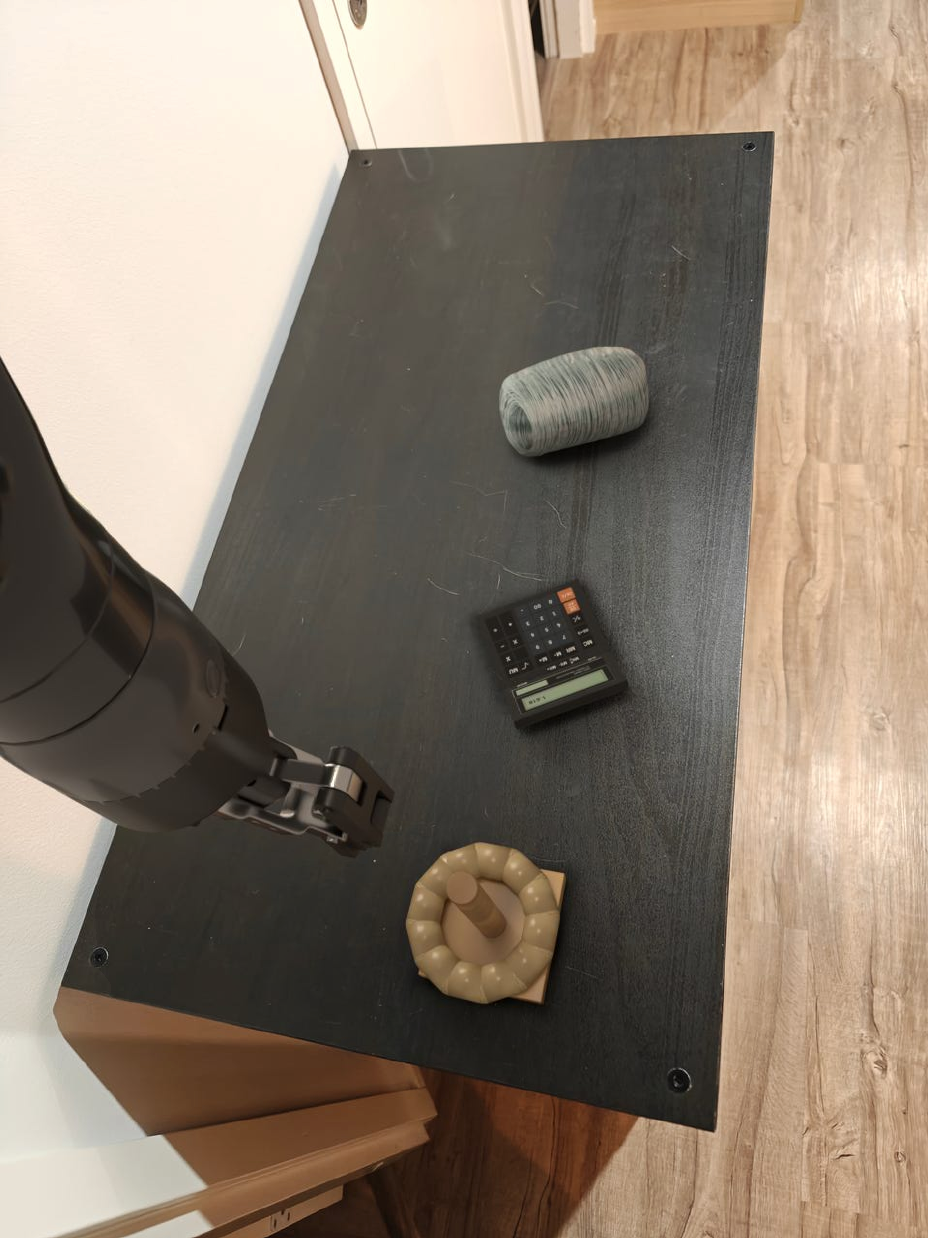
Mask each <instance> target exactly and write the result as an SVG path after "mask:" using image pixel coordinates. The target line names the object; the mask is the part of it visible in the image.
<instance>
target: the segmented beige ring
mask: <svg viewBox="0 0 928 1238" xmlns="http://www.w3.org/2000/svg"><path fill="white" fill-rule="evenodd" d="M540 869H541V868H539V867H538V866H537V865H536V864H534V862H532V861H531V860H530V859H529V858H528V857H527V856H525V855H524V854H523V853H522V852H521V851H520V850H519V849H517V848H513V847H508V846H503V845H497V844H492V843H488V842H481V841H479V842H474V843H471V844H469V845H465V846H462V847H459V848H455V849H454V850H451V851H450V852H448V853H447V852H445V853H443V854H441V855H440V856H439V857H438V858H437V859H436V860H435V862H434V863H432V865H431V866H430V867H429V868H428V869H427V870H426V871H425V872H424V873H423V875H422V876H421V877H420V878H419V879H418V881H417V882H416V883H415V885H414V888H413V891H412V896H411V900H410V903H409V907H408V912H407V915H406V918H405V929H406V933H407V937H408V941H409V945H410V948H411V949H410V950H411V953H412V957H413V961H414V963H415V966H416V967H417V968H418V970H419V969H420V970H421V971H422V972H423V973H424V974H425V975H426V976H427V977H428V978H429V979H428V978H427V979H428V980H429V981H430V982H431V983H432V984H433V985H434V986H435V987H436V988H437V989H438V990H439V991H440V992H441V993H442V994H444V995H446V996H448V997H453V998H456V999H460V1000H465V1001H469V1002H472V1003H477V1004H482V1005H487V1004H491V1003H494V1002H496V1001H500V1000H503V999H505V998H510V997H509V996H512V995H515V994H518V993H521V992H523V991H524V990H526V989H527V988H528V987H529V986H530V984H531V983H532V982H533V981H534V980H535V978H536V977H537V976H538V975H539V974H540V973H541V971H542V970H543V969H544V968H545V967H546V965H547V964H548V963H549V962H550V960H551V959H552V960H553V956H554V953H555V947H556V942H557V937H558V931H559V927H560V921H561V912H560V913H559V910H558V907H557V904H556V901H555V898H554V895H553V892H552V889H551V886H550V883H549V880H548V878H547V876H546V875H545V874H544V873H543V872H542V871H541V870H540ZM457 872H468V873H470V874H472V875H473V876H474V877H475V878H479V877H486V878H491V879H496V880H501V881H503V882H504V883H505V884H506V885H507V886H509V887H510V888H511V889H512V890H513V891H514V892H515V893H516V894H517V895H518V896H519V899H520V902H521V905H522V908H523V912H524V915H525V921H524V926H523V931H522V936H521V941H520V942H519V943H518V944H517V945H516V946H515V948H514V949H513V950H512V951H511V952H510V953H509V955H508V956H507V957H506V958H505V959H502V960H499V961H496V962H493V963H491V964H488V965H485V966H481V965H477V964H472V963H468V962H464V961H461V960H460V959H459V958H458V957H457V956H456V955H455V954H454V953H453V952H452V951H451V950H450V949H449V948H448V947H447V946H446V945H445V941H444V937H443V934H442V930H441V926H440V920H441V916H442V912H443V907H444V903H445V900H446V899H447V898H448V896H447V893H446V885H447V882H448V880H449V878H450V877H451V876H452V875H453V874H455V873H457Z"/></svg>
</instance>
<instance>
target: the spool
mask: <svg viewBox="0 0 928 1238" xmlns="http://www.w3.org/2000/svg"><path fill="white" fill-rule="evenodd" d="M649 405H650V400H649V385H648V376H647V370H646V365H645V364H644V361H643V359H642V358H641V357H640V356H639V355H638V354H637V353H635V352H634V351H633V350H632V349H631V348H626V347H622V346H612V345H611V346H610V345H609V346H595V347H590V348H586V349H581V350H575V351H571V352H567V353H564V354H560V355H557V356H554V357H552V358H549V359H546V360H542V361H539V362H538V363H535V364H533V365H530V366H527V367H525V368H522V369H521V370H518V371H517V372H514V373H513V372H512V373H511V374H510V375H508V376H507V377H506V378H505V379H504V380H503V382H502V384H501V386H500V390H499V395H498V408H499V416H500V421H501V425H502V428H503V430H504V433H505V436H506V438H507V440H508V443H509V444H510V445H511V446H512V448H513V449H515V451H516V452H517V453H518V454H519V455H521V456H523V457H525V458H526V457H542V456H543V455H544V454H547V453H551V452H557V451H560V450H562V449H568V448H572V447H576V446H580V445H583V444H586V443H593V442H596V441H597V442H598V441H600V440H604V439H609V438H612V437H614V436H618V435H623V434H626V433H629V432H631V431H634V430H635V429H637V428H640V426H642V425H643V424H644V422H645V419H646V417H647V414H648V411H649Z"/></svg>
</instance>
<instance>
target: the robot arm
mask: <svg viewBox="0 0 928 1238" xmlns="http://www.w3.org/2000/svg"><path fill="white" fill-rule="evenodd" d="M63 478H64V477H62V475H61V472H60V470H59V469H58V467H57V465H56V463H55V461H54V459H53V457H52V455H51V453H50V451H49V448H48V446H47V443H46V441H45V438H44V436H43V435H42V432H41V429H40V427H39V424H38V423H37V421H36V418H35V416H34V414H33V413H32V411H31V409H30V407H29V405H28V404H27V402H26V400H25V398H24V395H22V393H21V391H20V389H19V387H18V385H17V383H16V381H15V380H14V377H13V376H12V374H11V373H10V370H9V369H8V367H7V365H6V363H5V362H4V359H3V357H2V355H0V758H2V759H3V761H5V762H7V763H8V764H10V765H12V766H13V767H15V768H16V769H18V770H19V771H21V772H22V773H24V774H25V775H27V776H30V777H31V778H33V779H35V780H36V781H38V782H40V783H42V784H44V785H45V786H47V787H49V788H51V789H54V790H55V791H57V792H58V793H60V794H61V795H63V796H65V797H67V798H68V799H71V800H72V801H74V802H76V803H78V804H80V805H81V806H83V807H85V808H87V809H89V810H91V811H92V812H94V813H95V814H98V815H99V816H101V817H103V818H104V819H107V821H110V822H112V823H114V824H115V825H118V826H120V827H122V828H124V829H128V830H131V831H136V832H141V833H165V832H166V833H167V832H171V831H176V830H180V829H184V828H187V827H195V828H197V827H198V826H199V825H200V824H201V822H202V821H203V820H205V819H206V818H208V817H210V816H213V817H217V818H219V819H221V820H224V821H233V820H241V821H244V822H247V823H249V824H251V825H255V826H258V827H260V828H263V829H264V830H267V831H270V832H273V833H275V834H278V835H281V836H291V835H292V836H296V835H297V836H299V835H303V834H304V833H308V834H310V835H313V836H315V837H317V838H320V839H321V840H323V841H324V842H325V843H326V845H328V846H329V847H330V848H332V850H334V851H335V852H336V853H337V854H338V855H340V856H341V857H346V858H352V859H356V858H357V857H358V856H359V854H360V851H362V852H363V851H364V852H366V851H367V850H368V849H373V848H381V847H382V843H383V840H384V839H383V838H384V831H385V827H386V823H387V819H388V815H389V811H390V808H391V804H393V800H394V797H395V794H396V793H395V791H394V790H393V789H392V787H391V786H390V785H389V784H388V783H387V782H386V781H385V780H384V779H383V778H382V777H381V775H380V774H379V773H378V772H377V771H376V770H375V769H374V768H373V767H372V766H371V765H370V763H368V761H367V760H366V759H365V758H364V757H363V756H362V755H361V754H360V753H359V752H358V751H355V750H354V749H353V748H352V747H349V746H345V745H340V746H338V745H337V746H336V745H334V746H331V747H330V750H329V753H328V757H327V759H326V763H324V762H323V759H321V758H320V757H317V756H315V755H314V754H311V753H309V752H306V751H305V750H302V749H300V748H298V747H295V746H293V745H292V744H289V743H287V742H284V741H282V740H280V739H278V738H277V737H275V735H274V734H273V731H272V730H270V729H269V727H268V722H267V717H266V712H265V709H264V704H263V700H262V697H261V693H260V692H259V690H258V687H257V686H256V683H255V682H254V680H253V679H252V677H251V675H250V674H249V673H248V672H247V671H246V670H245V668H243V666H242V665H241V664H240V663H239V662H238V661H237V660H236V658H235V657H234V656H233V655H232V654H231V653H230V652H229V650H227V648H226V647H225V646H224V645H223V644H222V643H221V642H220V641H219V640H218V639H217V638H216V636H215V635H214V634H213V633H212V631H211V630H210V629H209V628H208V627H207V626H206V625H205V624H204V623H203V622H202V621H201V620H200V618H199V617H198V616H197V615H196V614H195V613H194V612H193V610H191V608H190V607H189V606H188V605H187V604H186V603H185V601H183V599H182V598H181V597H180V596H179V595H178V594H177V593H176V592H175V590H173V589H172V588H171V587H170V586H169V585H168V584H166V583H165V582H164V581H162V580H161V579H160V578H159V577H157V576H156V575H154V574H153V573H152V572H150V571H149V570H147V569H146V567H143V566H142V565H141V564H140V563H139V562H138V561H137V560H136V559H135V558H134V557H133V556H132V555H131V554H130V552H129V551H128V550H127V549H126V548H125V547H124V546H123V545H122V544H121V543H120V542H119V540H117V538H116V537H115V536H114V535H113V534H112V532H110V531H109V530H108V529H107V527H106V526H105V525H104V524H103V523H102V522H101V521H100V520H99V519H98V518H97V517H96V515H95V514H94V513H93V512H92V511H91V509H89V507H87V505H86V504H84V503H83V502H82V501H81V500H80V499H79V498H78V497H77V496H76V495H75V494H74V493H73V492H72V491H71V489H70V488H69V487H68V485H67V484H66V482H65V480H64V479H63ZM284 798H285V799H284ZM283 799H284V801H283V806H282V808H281V811H280V813H277V812H274V811H271V810H269V809H266V808H268V807H269V806H272V805H274V804H275V803H277V802H279V801H281V800H283ZM314 815H316V816H319V817H323V819H321V818H318V817H315V816H314Z"/></svg>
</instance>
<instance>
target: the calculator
mask: <svg viewBox="0 0 928 1238" xmlns="http://www.w3.org/2000/svg"><path fill="white" fill-rule="evenodd" d="M475 620H476V622H477V625H478V629H479V631H480V634H481V637H482V639H483V642H484V644H485V647H486V651H487V652H488V656H489V658H490V661H491V663H492V666H493V669H494V671H495V674H496V677H497V680H498V682H499V686H500V688H501V691H502V693H503V696H504V699H505V701H506V705H507V707H508V710H509V713H510V716H511V718H512V720H513V724H514V726H515V728H516V730H519V729H523V728H525V727H528V726H531V725H534V724H536V723H538V722H541V721H544V720H547V719H549V718H553V717H555V716H558V715H560V714H564V713H566V712H568V711H571V710H574V709H578V708H579V707H583V706H585V705H587V704H591V703H593V702H596V701H599V700H601V699H605V698H607V697H611V696H612V695H615V694H618V693H621V692H623V691H626V690H629V689H630V686H629V682H628V679H627V677H626V675H625V674H624V672H623V671H622V669H621V667H620V666H619V664H618V662H617V661H616V659H615V656H614V655H613V653H612V652H611V650H610V648H609V645H608V643H607V641H606V639H605V636H604V634H603V631H602V630H601V628H600V625H599V623H598V621H597V618H596V616H595V614H594V611H593V609H592V607H591V605H590V603H589V600H588V599H587V596H586V594H585V591H584V589H583V586H582V584H581V583H580V580H579V578H577V579H575V580H571V581H568V582H566V583H563V584H561V585H557V586H555V587H552V588H549V589H547V590H544V591H541V592H537V593H535V594H533V595H531V596H527V597H525V598H522V599H520V600H517V601H513V602H511V603H508V604H506V605H503V606H500V607H497V608H495V609H491V610H489V611H487V612H484V613H481V614H479V615H475Z"/></svg>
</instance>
